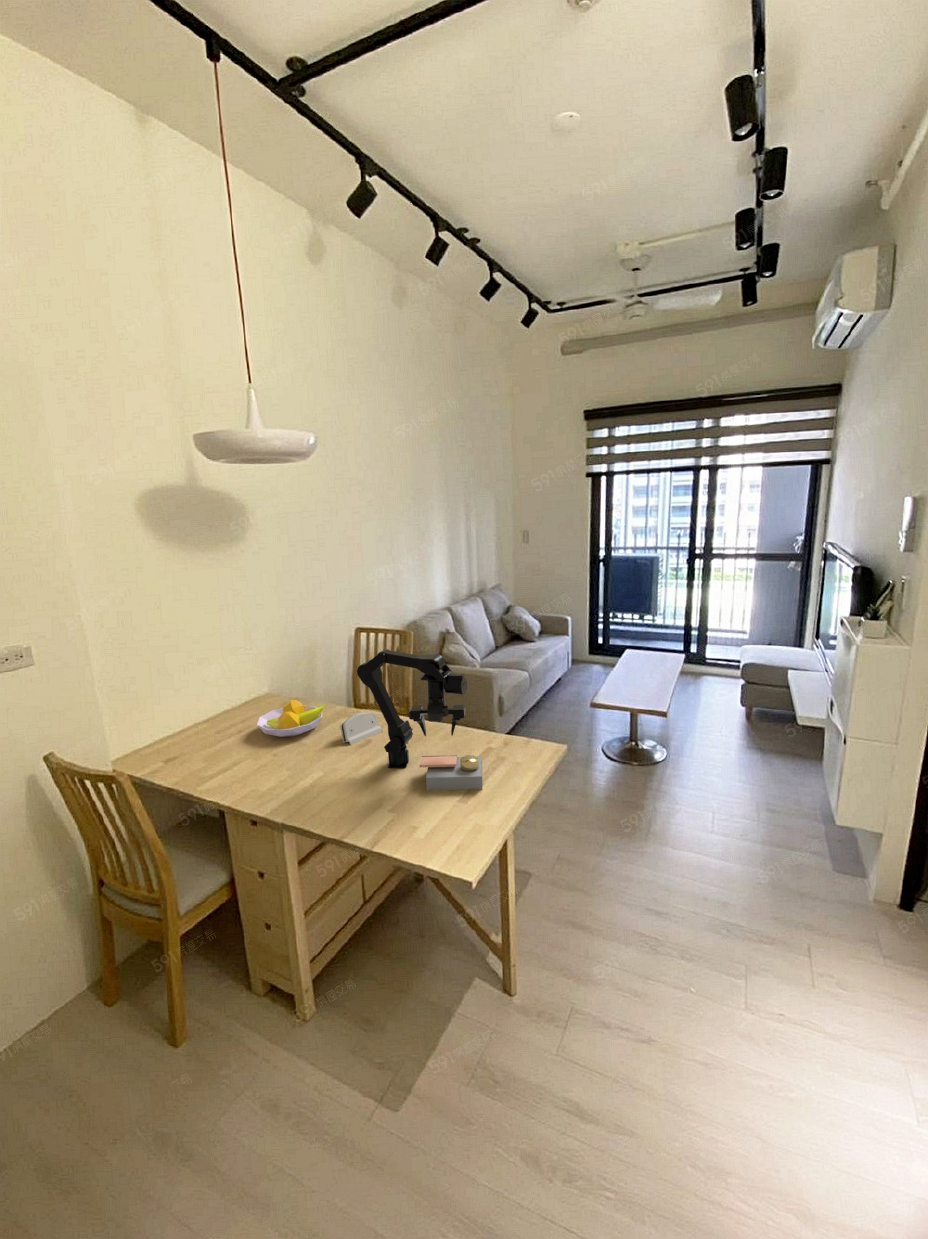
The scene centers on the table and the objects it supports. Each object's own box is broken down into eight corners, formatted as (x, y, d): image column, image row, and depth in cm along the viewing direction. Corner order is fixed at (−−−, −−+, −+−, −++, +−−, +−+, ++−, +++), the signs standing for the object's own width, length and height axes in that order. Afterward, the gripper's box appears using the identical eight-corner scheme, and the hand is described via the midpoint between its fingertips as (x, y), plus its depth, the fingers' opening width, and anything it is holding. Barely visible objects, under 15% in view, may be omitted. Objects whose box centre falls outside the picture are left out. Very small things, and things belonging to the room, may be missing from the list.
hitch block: (426, 790, 178) (425, 777, 177) (430, 769, 191) (429, 757, 190) (482, 789, 177) (481, 776, 176) (482, 768, 191) (481, 756, 190)
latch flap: (422, 758, 190) (419, 767, 181) (422, 755, 190) (419, 764, 181) (457, 757, 189) (455, 766, 181) (457, 754, 189) (455, 763, 181)
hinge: (350, 745, 214) (342, 720, 214) (343, 746, 217) (336, 722, 217) (383, 731, 226) (376, 707, 226) (376, 732, 229) (369, 709, 229)
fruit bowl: (244, 739, 224) (241, 713, 222) (289, 714, 249) (286, 690, 246) (300, 748, 213) (296, 720, 211) (341, 721, 238) (338, 697, 235)
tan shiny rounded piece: (460, 784, 180) (459, 763, 179) (461, 775, 186) (460, 755, 184) (479, 783, 180) (478, 763, 178) (479, 774, 186) (478, 755, 184)
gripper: (405, 701, 178) (408, 746, 181) (462, 700, 177) (464, 745, 180) (410, 690, 189) (413, 732, 192) (464, 688, 188) (466, 731, 191)
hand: (438, 735), depth 189 cm, fingers open, 9 cm apart
